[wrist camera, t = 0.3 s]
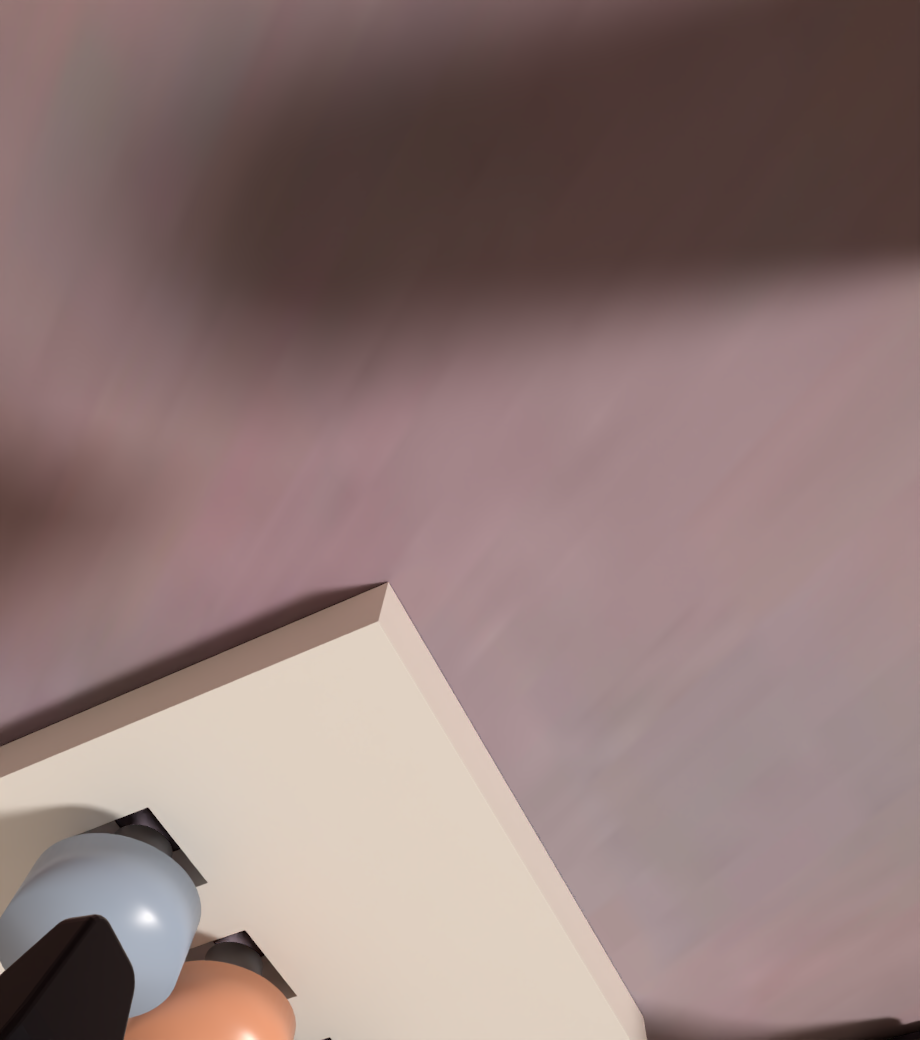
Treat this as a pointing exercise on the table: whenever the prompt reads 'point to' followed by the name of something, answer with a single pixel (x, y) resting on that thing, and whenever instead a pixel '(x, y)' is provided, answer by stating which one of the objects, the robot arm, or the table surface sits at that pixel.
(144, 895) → the slate button
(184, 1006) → the terracotta button
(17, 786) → the panel
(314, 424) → the table surface
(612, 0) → the table surface
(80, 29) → the table surface
